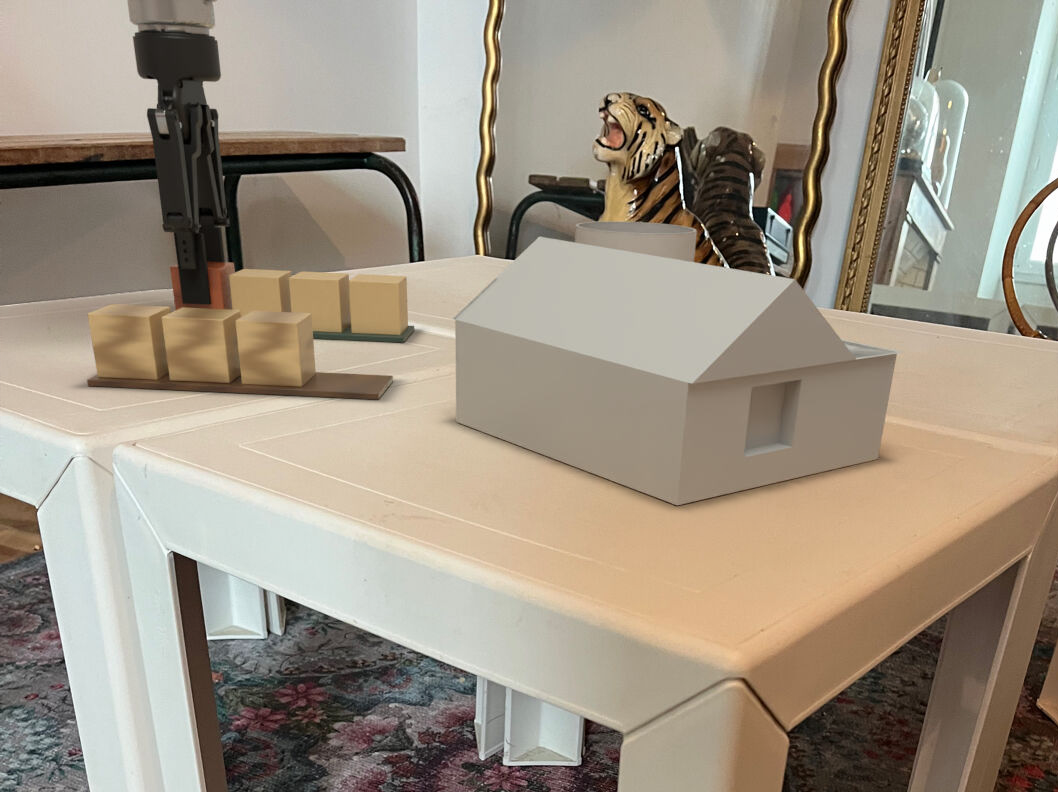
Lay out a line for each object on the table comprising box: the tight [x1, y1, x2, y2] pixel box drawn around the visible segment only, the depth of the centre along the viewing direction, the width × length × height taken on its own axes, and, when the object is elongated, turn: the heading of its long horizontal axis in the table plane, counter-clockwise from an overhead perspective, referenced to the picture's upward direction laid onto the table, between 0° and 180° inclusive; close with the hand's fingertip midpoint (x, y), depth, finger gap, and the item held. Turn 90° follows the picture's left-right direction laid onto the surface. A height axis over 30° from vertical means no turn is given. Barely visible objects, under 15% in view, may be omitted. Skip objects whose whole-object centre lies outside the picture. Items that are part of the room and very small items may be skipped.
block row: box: [229, 268, 415, 344], centre depth 115 cm, size 24×7×6 cm, turn 88°
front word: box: [86, 303, 394, 400], centre depth 94 cm, size 24×7×6 cm, turn 88°
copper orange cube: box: [169, 261, 236, 311], centre depth 115 cm, size 5×5×5 cm
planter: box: [574, 220, 698, 262], centre depth 121 cm, size 13×13×10 cm
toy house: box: [452, 236, 904, 506], centre depth 81 cm, size 25×21×13 cm
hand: (206, 298), depth 115 cm, fingers closed on copper orange cube, 5 cm apart
